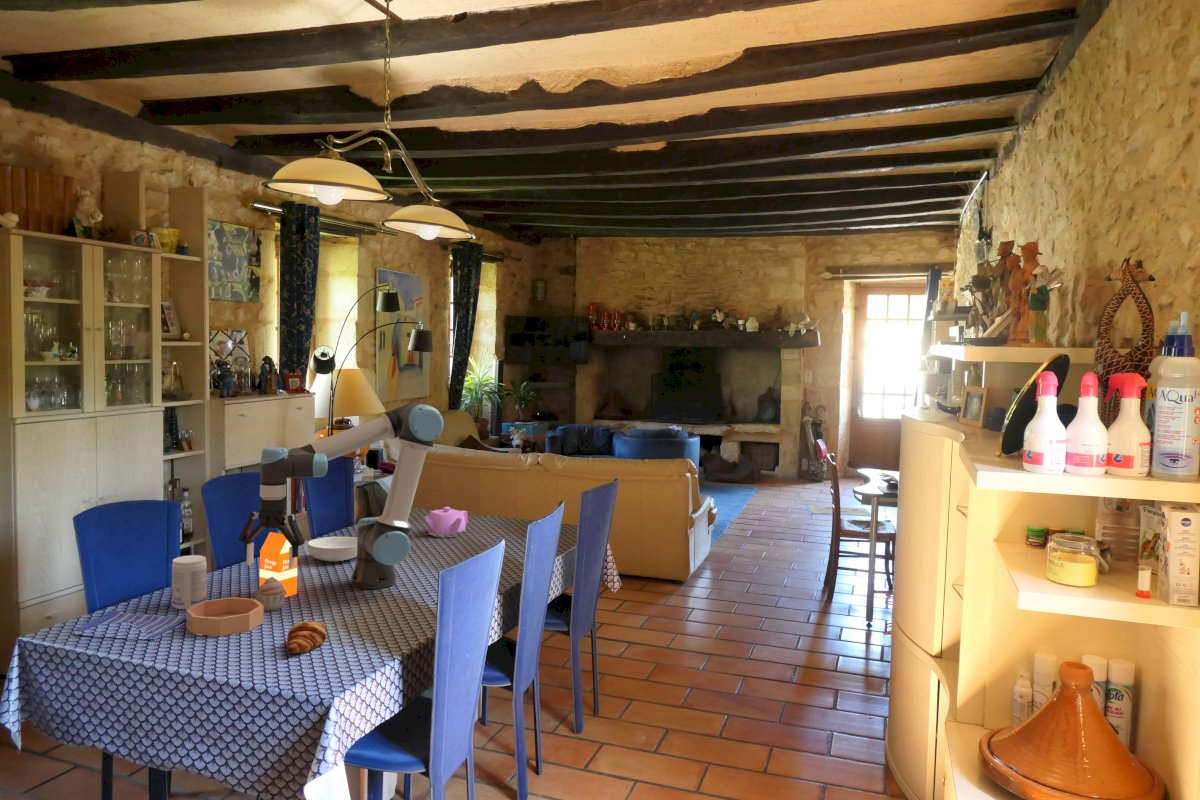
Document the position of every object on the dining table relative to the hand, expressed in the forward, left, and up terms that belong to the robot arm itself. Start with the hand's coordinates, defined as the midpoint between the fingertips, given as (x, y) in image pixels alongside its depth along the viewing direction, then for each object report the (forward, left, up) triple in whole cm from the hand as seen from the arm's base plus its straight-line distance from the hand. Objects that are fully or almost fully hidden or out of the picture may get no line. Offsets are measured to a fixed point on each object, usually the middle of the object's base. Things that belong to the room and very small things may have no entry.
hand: (270, 566), depth 251 cm
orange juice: (+5, -14, -14) cm, 20 cm away
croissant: (-25, +27, -14) cm, 39 cm away
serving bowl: (+6, -61, -14) cm, 63 cm away
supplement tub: (+25, +3, -14) cm, 28 cm away
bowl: (+5, +17, -13) cm, 22 cm away
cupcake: (0, 0, -14) cm, 14 cm away
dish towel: (+28, +25, -14) cm, 40 cm away
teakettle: (-22, -113, -14) cm, 116 cm away
